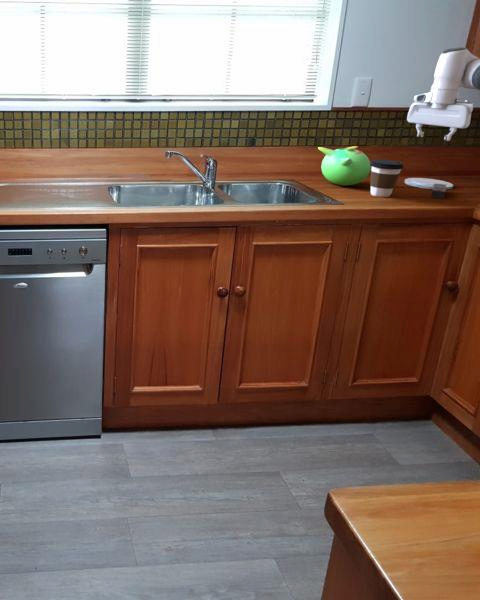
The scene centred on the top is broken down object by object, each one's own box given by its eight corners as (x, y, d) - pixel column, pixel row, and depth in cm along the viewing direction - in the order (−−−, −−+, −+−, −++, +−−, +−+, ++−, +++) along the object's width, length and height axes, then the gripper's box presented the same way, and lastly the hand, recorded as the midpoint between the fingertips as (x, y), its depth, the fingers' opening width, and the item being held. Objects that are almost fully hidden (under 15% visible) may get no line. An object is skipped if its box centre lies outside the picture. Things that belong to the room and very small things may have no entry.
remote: (432, 190, 230) (434, 182, 228) (444, 192, 228) (446, 184, 226) (430, 197, 218) (432, 189, 217) (443, 199, 217) (445, 190, 215)
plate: (453, 183, 242) (454, 180, 242) (452, 191, 229) (453, 188, 228) (406, 178, 250) (406, 175, 249) (402, 185, 236) (403, 182, 236)
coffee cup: (397, 194, 222) (405, 161, 218) (395, 200, 213) (403, 166, 209) (365, 190, 227) (372, 158, 222) (362, 196, 218) (369, 162, 213)
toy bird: (375, 188, 231) (384, 148, 225) (343, 191, 224) (351, 151, 218) (338, 178, 246) (345, 141, 240) (307, 181, 239) (314, 143, 233)
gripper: (479, 100, 205) (468, 141, 211) (418, 95, 220) (409, 134, 226) (471, 100, 202) (460, 143, 207) (409, 95, 217) (400, 135, 222)
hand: (433, 138), depth 217 cm, fingers open, 8 cm apart
